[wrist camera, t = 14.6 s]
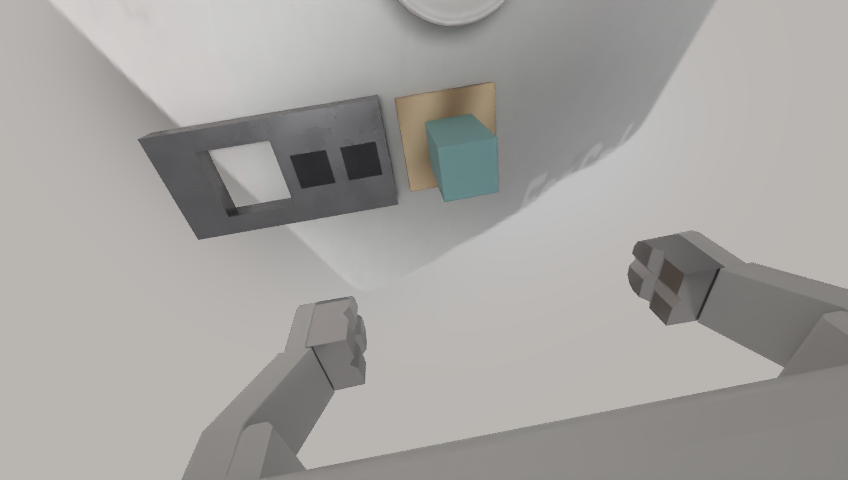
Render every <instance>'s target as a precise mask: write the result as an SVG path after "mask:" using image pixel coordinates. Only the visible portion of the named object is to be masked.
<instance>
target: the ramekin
mask: <svg viewBox="0 0 848 480" xmlns="http://www.w3.org/2000/svg"><path fill="white" fill-rule="evenodd" d="M398 1H399V2H400V3H401V4H402V5H403V6H404V7H405V8H406V9H407V10H409V11H410V12H411V13H413V14H414V15H416V16H417V17H419V18H421V19H423V20H425V21H427V22H430V23H433V24H437V25H442V26H462V25H466V24H470V23H473V22H476V21H479V20H481V19H483V18H485V17H487V16H488V15H490V14H491V13H493V12H494V11H495V10H497V9H498V8H499V7H500V6H501V5H502V4H503V3H504V2H505V1H506V0H398Z"/></svg>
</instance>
